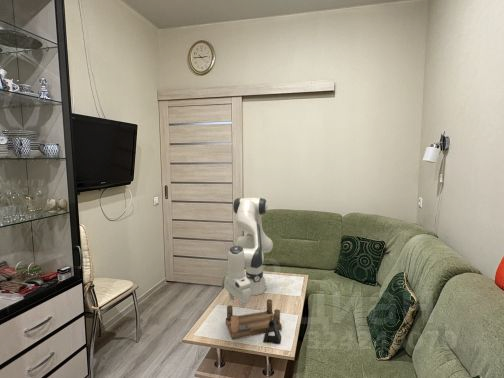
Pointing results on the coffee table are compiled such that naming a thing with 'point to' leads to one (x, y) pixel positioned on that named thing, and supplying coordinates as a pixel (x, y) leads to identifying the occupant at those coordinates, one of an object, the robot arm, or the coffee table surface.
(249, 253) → the robot arm
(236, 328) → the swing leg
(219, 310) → the coffee table surface
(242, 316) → the stool base
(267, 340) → the phone stand
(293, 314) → the coffee table surface
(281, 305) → the coffee table surface
